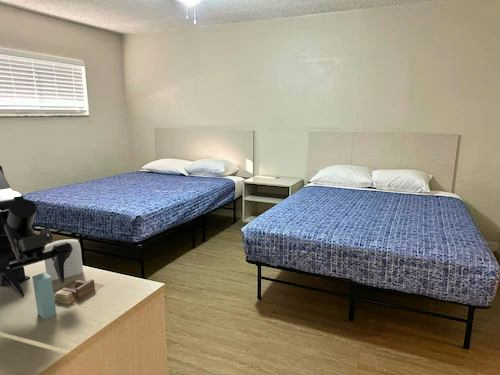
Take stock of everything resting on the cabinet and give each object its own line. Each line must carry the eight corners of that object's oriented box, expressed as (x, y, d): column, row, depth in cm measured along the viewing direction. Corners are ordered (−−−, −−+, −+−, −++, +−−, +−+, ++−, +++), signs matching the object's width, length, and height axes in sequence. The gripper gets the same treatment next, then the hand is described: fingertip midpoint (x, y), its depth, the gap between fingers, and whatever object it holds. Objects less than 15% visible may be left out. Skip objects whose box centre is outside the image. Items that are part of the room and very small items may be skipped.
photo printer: (82, 270, 115) (78, 235, 112) (84, 275, 111) (80, 239, 109) (46, 278, 109) (41, 241, 107) (47, 284, 106) (42, 246, 103)
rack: (42, 301, 96) (40, 289, 95) (76, 281, 107) (74, 270, 106) (73, 308, 93) (72, 295, 92) (105, 287, 104) (104, 275, 103)
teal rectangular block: (37, 314, 89) (32, 276, 87) (50, 309, 91) (45, 272, 89) (43, 319, 87) (38, 281, 84) (56, 314, 89) (51, 277, 87)
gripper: (-19, 231, 80) (3, 290, 76) (65, 213, 94) (89, 262, 89) (-22, 254, 87) (-2, 309, 82) (57, 234, 101) (78, 280, 96)
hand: (44, 289), depth 87 cm, fingers open, 9 cm apart
